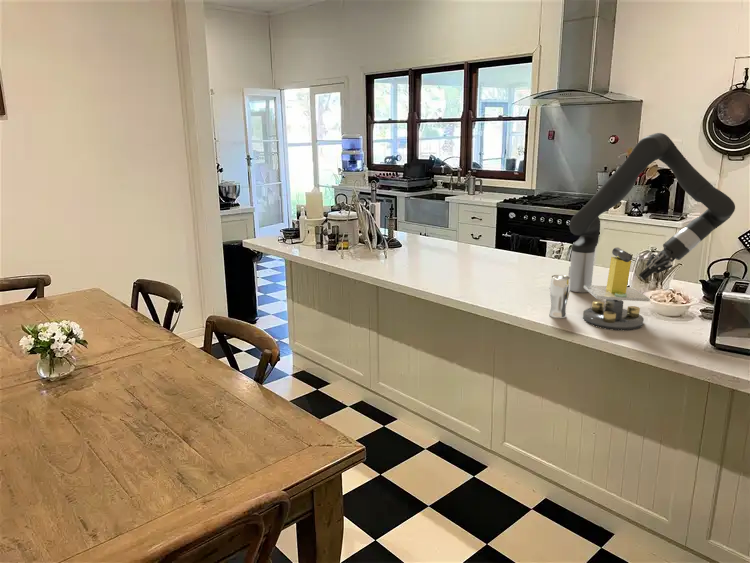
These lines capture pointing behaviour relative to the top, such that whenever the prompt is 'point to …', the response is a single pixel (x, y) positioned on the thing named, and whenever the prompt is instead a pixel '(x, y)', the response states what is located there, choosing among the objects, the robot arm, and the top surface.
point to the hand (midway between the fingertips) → (641, 277)
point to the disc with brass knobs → (613, 315)
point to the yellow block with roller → (617, 280)
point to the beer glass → (559, 295)
